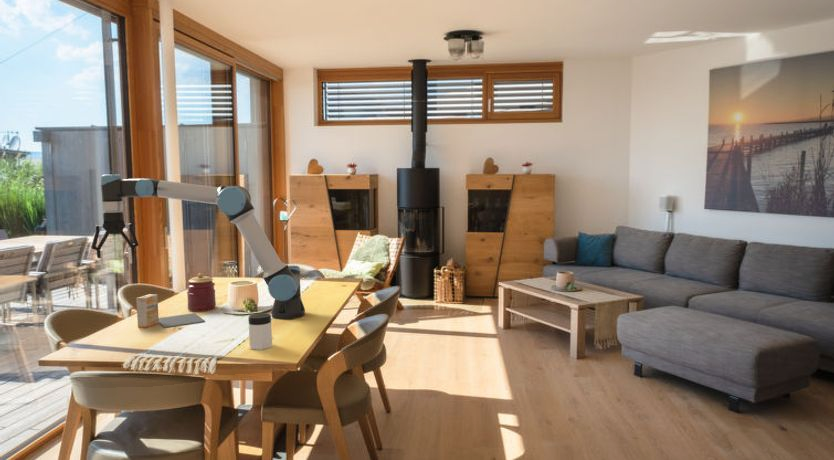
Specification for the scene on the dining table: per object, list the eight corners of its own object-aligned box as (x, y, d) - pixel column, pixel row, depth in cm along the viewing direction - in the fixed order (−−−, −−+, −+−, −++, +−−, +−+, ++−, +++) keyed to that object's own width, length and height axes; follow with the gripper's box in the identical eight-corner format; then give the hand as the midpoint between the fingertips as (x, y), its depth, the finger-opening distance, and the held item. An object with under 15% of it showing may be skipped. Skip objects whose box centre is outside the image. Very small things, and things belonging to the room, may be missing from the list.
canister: (214, 304, 292) (212, 269, 291) (217, 310, 281) (215, 273, 279) (186, 307, 287) (184, 272, 285) (188, 313, 275) (186, 276, 273)
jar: (264, 341, 227) (263, 311, 226) (277, 345, 222) (276, 314, 220) (244, 347, 220) (243, 316, 219) (257, 351, 215) (255, 319, 214)
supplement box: (147, 328, 249) (145, 298, 248) (137, 327, 250) (135, 297, 249) (159, 323, 258) (157, 294, 256) (149, 322, 258) (148, 293, 257)
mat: (205, 321, 259) (205, 320, 258) (164, 328, 249) (163, 326, 249) (194, 314, 273) (194, 312, 273) (155, 319, 264) (155, 318, 264)
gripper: (141, 209, 252) (144, 260, 255) (81, 212, 240) (84, 266, 242) (144, 210, 246) (147, 262, 248) (82, 213, 233) (86, 268, 236)
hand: (116, 264), depth 245 cm, fingers open, 10 cm apart
